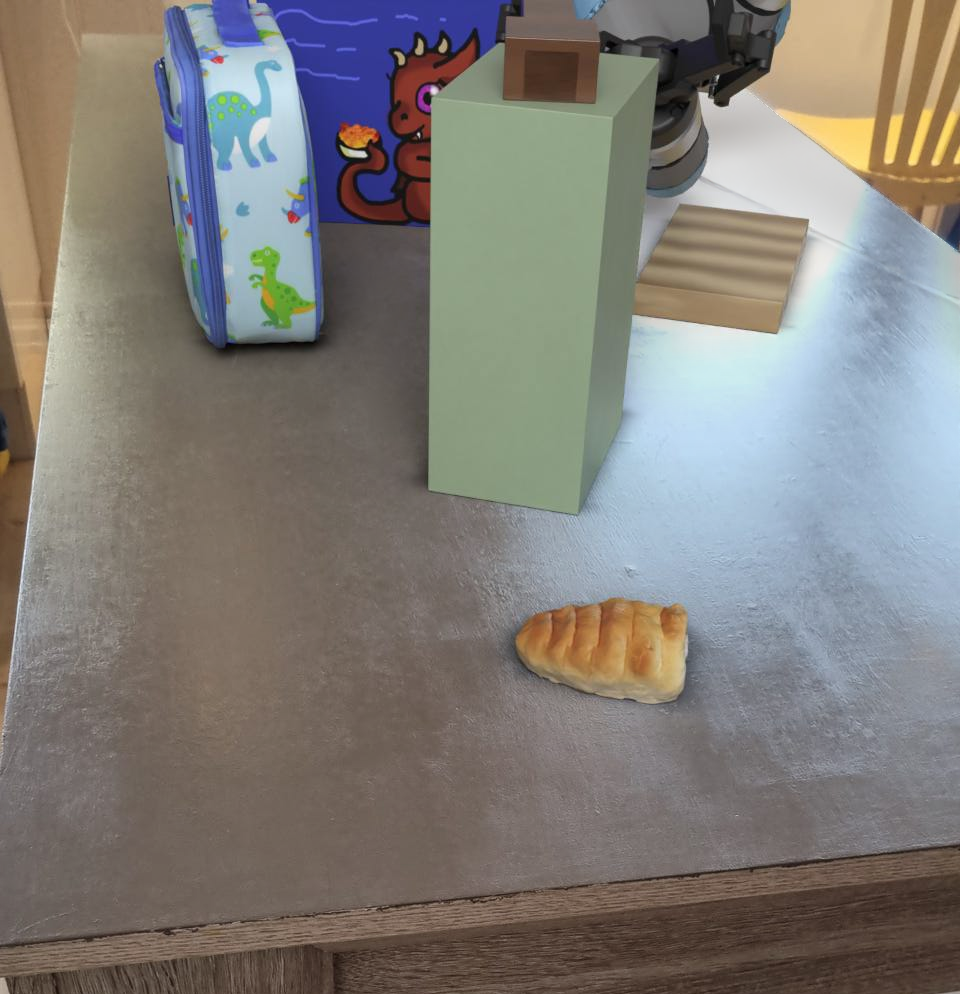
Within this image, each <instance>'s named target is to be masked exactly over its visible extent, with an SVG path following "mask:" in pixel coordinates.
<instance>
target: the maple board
mask: <svg viewBox="0 0 960 994" xmlns="http://www.w3.org/2000/svg"><path fill="white" fill-rule="evenodd" d="M809 224H810V218H804V217H797V216H788V215H779V214H771V213H762V212H755V211H746V210H737V209H731V208H722V207H713V206H706V205H705V206H704V205H696V204H689V203H682V202H681V203H679V204H678V206H677V208H676V209H675V211H674V213H673V215H672V216H671V219H670V221H669V222H668V224H667V226H666V228H665V230H664V231H663V233H662V235H661V237H660V239H659V240H658V243H657V244H656V246H655V248H654V249H653V251H652V253H651V255H650V257H649V258H648V261H647V262H646V264H645V266H644V268H643V269H642V271H641V273H640V275H639V277H637V279H636V287H635V296H634V305H633V315H638V316H644V317H652V318H658V319H659V318H660V319H668V320H674V321H681V322H689V323H695V324H703V325H710V326H717V327H725V328H732V329H739V330H747V331H748V330H749V331H753V332H762V333H768V334H769V333H770V334H778V333H779V331H780V327H781V324H782V321H783V318H784V315H785V311H786V309H787V304H788V301H789V299H790V295H791V291H792V290H793V289H792V288H793V285H794V282H795V278H796V277H797V273H798V269H799V266H800V263H801V259H802V256H803V254H804V253H803V252H804V250H805V246H806V242H807V236H808V229H809Z"/></svg>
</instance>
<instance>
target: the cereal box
mask: <svg viewBox="0 0 960 994" xmlns="http://www.w3.org/2000/svg"><path fill="white" fill-rule="evenodd" d="M255 3H265V4H267V5H268V7H270V8H272V10H273V14H274V17H275V19H276V22H277V25H278V28H279V29H280V32H281V34H282V36H283V38H284V40H285V41H286V44H287V46H288V48H289V49H290V51H291V53H292V55H293V58H294V61H295V68H296V77H297V83H298V86H299V89H300V92H301V95H302V99H303V102H304V106H305V109H306V115H307V121H308V127H309V133H310V139H311V147H312V154H313V162H314V170H315V180H316V190H317V204H318V219H319V223H342V224H343V223H344V224H363V225H364V224H365V225H382V226H383V225H386V226H403V227H404V226H407V227H428V228H430V206H431V98H432V97H433V96H434V95H436V94H437V93H438V92H439V91H441V90H442V89H443V88H444V87H445V86H447V85H448V84H449V83H450V82H452V81H453V80H454V79H455V78H456V77H458V76H459V75H460V74H461V73H463V72H464V71H465V70H466V69H467V68H469V67H470V66H471V65H472V64H474V63H475V62H476V61H477V60H478V59H480V58H481V57H482V56H483V55H485V54H486V53H487V52H488V51H489V50H491V49H492V48H493V47H494V46H496V45H497V44H496V43H495V37H496V31H497V24H498V18H499V11H500V5H501V4H511V0H256V2H255Z"/></svg>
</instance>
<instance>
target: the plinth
mask: <svg viewBox="0 0 960 994" xmlns="http://www.w3.org/2000/svg"><path fill="white" fill-rule="evenodd" d="M504 48H505V43H498V44H497V45H496V46H494V47H493V48H492V49H491V50H489V51H488V52H487V53H486V54H485V55H483V56H482V57H481V58H480V59H478V60H477V61H476V62H475V63H474V64H472V65H471V66H470V67H469V68H467V69H466V70H465V71H464V72H463V73H461V74H460V75H459V76H458V77H456V78H455V79H454V80H453V81H452V82H450V83H449V84H448V85H447V86H445V87H444V88H443V89H442V90H441V91H439V92H438V93H437V94H436V95H434V96H433V97H432V98H431V206H430V227H429V341H428V343H429V345H428V347H429V348H428V349H429V353H428V459H427V461H428V465H427V466H428V468H427V469H428V471H427V474H428V476H427V478H428V479H427V484H428V485H427V488H428V489H427V490H428V491H429V492H434V493H440V494H447V495H452V496H459V497H463V498H471V499H476V500H483V501H489V502H496V503H500V504H501V503H502V504H507V505H513V506H519V507H525V508H530V509H532V508H533V509H538V510H544V511H549V512H556V513H562V514H567V515H574V516H578V515H579V513H580V512H581V509H582V508H583V505H584V503H585V501H586V499H587V496H588V495H589V492H590V491H591V488H592V487H593V484H594V482H595V481H596V477H597V476H598V473H599V471H600V469H601V467H602V465H603V463H604V460H605V459H606V456H607V454H608V453H609V450H610V448H611V446H612V444H613V442H614V440H615V438H616V436H617V433H618V431H619V429H620V427H621V424H622V416H623V408H624V397H625V389H626V380H627V371H628V360H629V352H630V342H631V333H632V332H631V331H632V323H633V315H634V314H633V305H634V296H635V287H636V282H637V278H638V277H637V276H638V268H639V267H638V266H639V257H640V247H641V238H642V232H643V231H642V229H643V221H644V220H643V219H644V211H645V201H646V184H647V174H648V165H649V156H650V146H651V137H652V128H653V118H654V109H655V100H656V90H657V81H658V72H659V62H660V59H655V58H645V57H635V56H626V55H616V54H606V53H600V54H599V66H598V79H597V91H596V103H595V104H589V103H564V102H540V101H516V100H503V74H504Z"/></svg>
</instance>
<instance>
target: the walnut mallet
mask: <svg viewBox="0 0 960 994" xmlns="http://www.w3.org/2000/svg"><path fill="white" fill-rule="evenodd" d="M599 54H600V37H599V32H598V27H597V22H596V20H583V19H576V17H575V11H574V4H573V0H521V17H512V16H507V17H506V23H505V48H504V74H503V100H516V101H540V102H564V103H589V104H595V103H596V91H597V79H598V66H599Z"/></svg>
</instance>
